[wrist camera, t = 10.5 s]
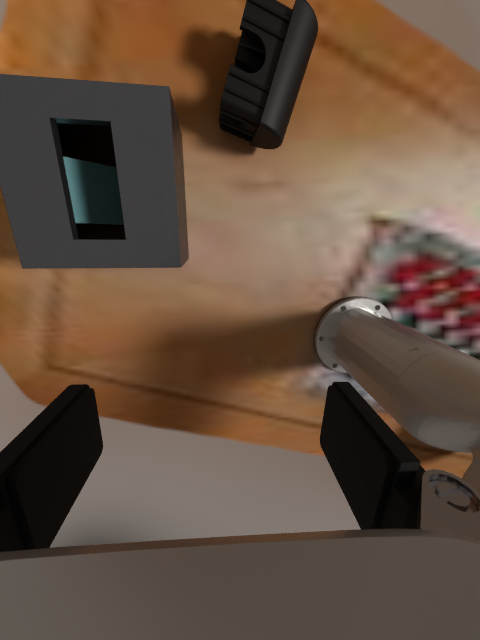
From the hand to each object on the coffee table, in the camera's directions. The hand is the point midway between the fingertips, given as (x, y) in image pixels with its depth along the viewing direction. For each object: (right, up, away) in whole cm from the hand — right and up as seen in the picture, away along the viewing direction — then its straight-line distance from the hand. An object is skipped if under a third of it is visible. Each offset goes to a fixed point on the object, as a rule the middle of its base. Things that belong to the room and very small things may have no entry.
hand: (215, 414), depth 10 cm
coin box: (-13, +18, +20) cm, 30 cm away
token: (-16, +15, +18) cm, 28 cm away
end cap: (+3, +29, +19) cm, 35 cm away
